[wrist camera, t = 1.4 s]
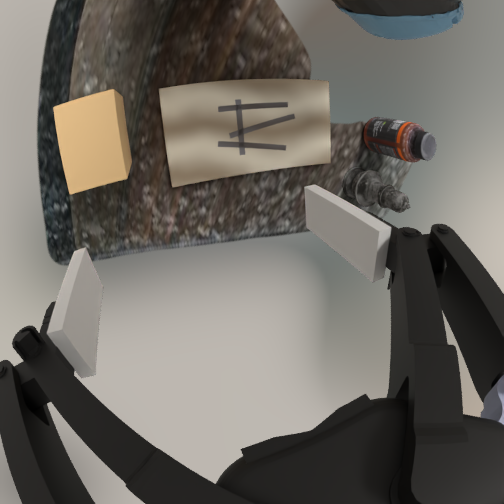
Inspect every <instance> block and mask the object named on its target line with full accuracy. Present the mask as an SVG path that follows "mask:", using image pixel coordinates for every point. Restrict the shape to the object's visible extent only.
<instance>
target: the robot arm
mask: <svg viewBox="0 0 504 504" xmlns="http://www.w3.org/2000/svg"><path fill="white" fill-rule="evenodd" d="M332 1H333V2H334V3H335V5H336V6H337V7H338V8H339V9H340V10H341V11H342V12H344V13H346V14H348V15H349V16H350V17H351V18H352V19H353V20H354V21H355V22H357V23H358V24H359V26H361V27H362V28H363V29H364V30H365V31H367V32H369V33H370V34H373V35H375V36H378V37H384V38H386V39H395V40H407V39H417V38H423V37H428V36H432V35H435V34H439V33H442V32H444V31H446V30H448V29H450V28H452V26H453V25H452V24H456V23H458V22H460V21H461V19H462V18H463V15H464V10H463V3H462V2H461V0H332ZM304 189H305V208H306V227H307V228H308V229H309V230H310V231H312V232H313V233H314V234H315V235H317V236H318V237H319V238H320V239H322V240H323V241H324V242H325V243H326V244H328V245H329V246H330V247H331V248H332V249H334V250H335V251H336V252H337V253H338V254H340V255H341V256H342V257H343V258H344V259H346V260H347V261H348V262H349V263H350V264H352V265H353V266H354V267H355V268H356V269H357V270H359V271H360V272H361V273H362V274H363V275H364V276H366V277H367V278H368V279H369V280H370V281H371V282H375V281H377V280H379V279H382V278H383V277H384V274H385V269H386V267H387V268H388V269H389V270H391V273H390V278H389V284H388V289H390V293H391V359H390V378H389V389H388V394H387V398H378V399H373V400H370V399H369V398H368V396H367V395H366V394H364V395H362V396H360V397H359V398H357V399H355V400H353V401H351V402H350V403H348V404H346V405H344V406H342V407H340V408H339V409H337V410H336V411H335V412H334V413H333V414H331V415H330V416H329V417H328V418H326V419H325V420H324V421H323V422H322V423H320V424H319V425H318V426H317V427H316V428H314V429H313V430H311V431H307V432H302V433H297V434H291V435H285V436H279V437H273V438H271V439H268V440H265V441H263V442H260V443H257V444H254V445H252V446H249V447H246V448H242V449H241V451H242V454H243V457H241V458H239V459H238V460H236V461H235V462H234V463H233V464H231V465H230V466H229V467H228V468H227V469H226V470H225V471H224V472H223V474H222V475H221V476H220V478H219V479H218V481H217V483H216V484H214V483H213V482H211V481H209V480H207V479H205V478H204V477H202V476H200V475H199V474H197V473H195V472H194V471H192V470H190V469H189V468H187V467H186V466H184V465H182V464H181V463H179V462H178V461H176V460H175V459H173V458H172V457H170V456H169V455H167V454H166V453H164V452H163V451H161V450H160V449H158V448H156V447H155V446H153V445H152V444H150V443H149V442H148V441H146V440H145V439H144V438H143V437H141V436H140V435H138V434H137V433H136V432H135V431H134V430H132V429H131V428H130V427H129V426H128V425H126V424H125V423H124V422H123V421H122V420H120V419H119V418H118V417H117V416H116V415H115V414H113V413H112V412H111V411H110V410H109V409H108V408H107V407H106V406H104V405H103V404H102V403H101V402H100V401H99V400H98V399H97V398H96V397H95V396H94V395H93V394H92V393H91V392H90V391H89V390H88V389H87V388H86V387H85V386H84V385H83V384H82V383H81V382H80V381H79V380H78V379H77V378H76V377H75V376H74V370H75V371H76V372H77V374H78V375H79V376H80V377H81V378H84V377H89V376H94V375H96V356H97V341H98V330H99V319H100V310H101V302H102V294H103V285H102V283H101V281H100V278H99V277H98V274H97V272H96V270H95V267H94V265H93V263H92V261H91V258H90V256H89V254H88V251H87V249H86V247H85V248H82V249H79V250H76V251H74V253H73V256H72V258H71V261H70V263H69V266H68V269H67V272H66V274H65V277H64V280H63V282H62V285H61V288H60V291H59V294H58V297H57V301H55V302H52V303H51V304H50V306H49V307H48V309H47V310H46V314H45V316H44V318H45V319H44V320H43V323H42V324H43V325H42V326H41V329H40V333H38V331H37V330H36V328H35V327H33V326H26V327H24V328H22V329H21V330H20V331H19V332H18V333H17V334H16V335H15V337H14V339H13V342H12V345H13V348H14V349H15V350H16V352H17V353H18V354H19V355H20V356H21V358H22V359H23V360H24V361H23V362H21V363H20V364H18V365H16V366H13V365H12V364H11V362H10V361H8V360H3V361H1V362H0V434H1V439H2V443H3V447H4V450H5V455H6V458H7V462H8V465H9V468H10V471H11V474H12V477H13V480H14V483H15V486H16V489H17V491H18V494H19V497H20V499H21V501H22V504H95V502H94V501H93V500H92V498H91V496H90V494H89V493H88V491H87V489H86V488H85V486H84V484H83V483H82V481H81V479H80V477H79V476H78V474H77V472H76V470H75V468H74V466H73V464H72V462H71V460H70V458H69V456H68V454H67V452H66V450H65V448H64V445H63V443H62V441H61V439H60V436H59V434H58V432H57V429H56V427H55V424H54V422H53V420H52V417H51V414H50V412H49V409H48V406H47V403H49V402H52V404H53V405H54V406H55V407H56V409H57V410H58V412H59V413H60V414H61V415H62V417H63V418H64V419H65V420H66V422H67V423H68V424H69V425H70V426H71V428H72V429H73V430H74V431H75V432H76V434H77V435H78V436H79V437H80V438H81V439H82V440H83V441H84V442H85V444H86V445H87V446H88V447H89V448H90V449H91V450H92V451H93V452H94V453H95V454H96V455H97V456H98V457H99V458H100V459H101V460H102V461H103V462H104V463H105V464H106V465H107V466H108V467H109V468H110V469H111V470H112V471H113V472H114V473H115V474H116V475H117V476H119V477H120V478H121V479H122V480H123V481H124V482H125V483H126V487H127V488H128V489H129V490H130V491H131V492H132V493H133V494H134V495H135V496H137V497H138V498H139V499H140V500H142V501H143V502H144V503H145V504H504V294H503V293H502V291H501V290H500V288H499V287H498V285H497V284H496V283H495V281H494V280H493V278H492V277H491V276H490V274H489V273H488V272H487V271H486V269H485V268H484V267H483V265H482V264H481V263H480V261H479V260H478V259H477V258H476V256H475V255H474V254H473V253H472V252H471V250H470V249H469V248H468V247H467V245H466V244H465V243H464V242H463V241H462V240H461V239H460V237H459V236H458V235H457V234H456V233H455V231H454V230H453V229H451V228H450V227H448V226H447V225H444V224H434V225H432V227H431V232H430V234H424V235H422V234H421V232H419V231H418V230H416V229H414V228H409V227H403V228H399V229H398V228H396V227H394V226H393V225H391V224H390V223H388V222H386V221H385V220H384V221H383V219H381V218H380V217H379V218H378V216H376V215H374V214H373V213H371V212H367V211H364V210H361V209H359V208H358V207H356V206H354V205H352V204H351V203H349V202H347V201H345V200H343V199H341V198H340V197H338V196H336V195H334V194H332V193H330V192H329V191H327V190H325V189H323V188H321V187H319V186H317V185H311V186H306V187H304ZM442 311H443V313H444V315H445V317H446V319H447V321H448V323H449V325H450V327H451V330H452V332H453V334H454V336H455V339H456V341H457V343H458V345H459V348H460V350H461V353H462V355H463V357H464V360H465V363H466V365H467V368H468V370H469V373H470V376H471V378H472V381H473V383H474V386H475V388H476V391H477V392H478V394H479V396H480V398H481V400H482V402H483V403H484V409H483V411H482V412H481V418H480V417H475V416H470V415H465V414H463V406H462V391H461V380H460V372H459V364H458V356H457V351H456V347H455V346H454V345H448V344H447V338H446V331H445V326H444V320H443V314H442Z"/></svg>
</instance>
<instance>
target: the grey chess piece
mask: <svg viewBox="0 0 504 504" xmlns="http://www.w3.org/2000/svg"><path fill="white" fill-rule="evenodd" d="M343 190H344V192H345V194H346V195H347V196H348V197H350V198H355V199H356V200H357V202H358V203H359V204H360V205H362V206H364V207H368V206H371V205H373V204H374V203H378V204H379V205H380V207H382V208H389V209H392V210H393V211H395V212H398V213H401V212H403V211H405V210H406V208H407V209H409V208H410V205H409V204H408V203H409V200H408V197H407V196H406V195H405V194H404V193H402V192H400V191H397V190H395V189H394V187H393V186H392V185H385V184H383V180H382V177H381V175H380V174H379V173H378V172H377V171H374V170H368V171H365V170H364V169H362V168H361V167H354V168H351V169H350V170H349V171H348V172H347V173H346V175H345V177H344V180H343Z"/></svg>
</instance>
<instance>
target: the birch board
mask: <svg viewBox="0 0 504 504" xmlns="http://www.w3.org/2000/svg"><path fill="white" fill-rule="evenodd" d="M159 96H160V105H161V114H162V122H163V130H164V138H165V145H166V152H167V159H168V165H169V172H170V178H171V184H172V187H178V186H182V185H187V184H192V183H197V182H202V181H208V180H213V179H218V178H224V177H230V176H236V175H242V174H248V173H254V172H261V171H268V170H275V169H282V168H290V167H298V166H306V165H315V164H324V163H330V103H329V102H330V101H329V81H321V80H305V79H245V80H227V81H215V82H204V83H195V84H187V85H180V86H173V87H167V88H161V89H159Z"/></svg>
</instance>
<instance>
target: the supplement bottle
mask: <svg viewBox="0 0 504 504" xmlns="http://www.w3.org/2000/svg"><path fill="white" fill-rule="evenodd" d="M364 141H365V143H366V145H367V147H368V148H369V149H370V150H371V151H374V152H376V153H380V154H384V155H387V156H391V157H394V158H398V159H401V160H404V161H408V162H417V161H419V160H420V159H423V160H427V161H428V160H431V159H432V158H433V156H434V155H435V152H436V140H435V137H434V136H433V134H431V133H428V132H424V130H423V129H422V127H421V126H420V125H418V124H416V123H411V122H406V121H400V120H394V119H387V118H380V117H374V118H372V119H370V120H369V121H368V122H367V123H366V125H365V128H364Z"/></svg>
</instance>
